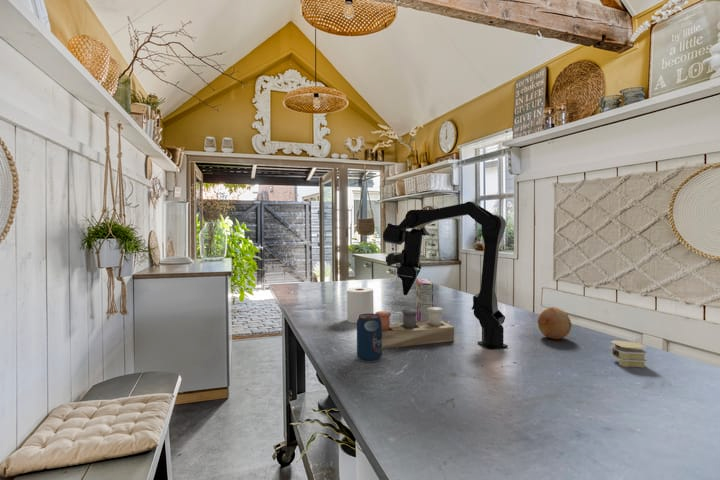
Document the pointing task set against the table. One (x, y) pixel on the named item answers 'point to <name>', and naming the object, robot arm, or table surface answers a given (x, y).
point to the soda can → (369, 337)
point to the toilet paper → (359, 303)
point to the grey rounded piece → (409, 318)
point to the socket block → (416, 334)
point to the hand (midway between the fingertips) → (406, 292)
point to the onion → (554, 323)
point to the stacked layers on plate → (628, 353)
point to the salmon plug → (384, 319)
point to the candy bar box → (423, 298)
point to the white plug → (435, 316)
